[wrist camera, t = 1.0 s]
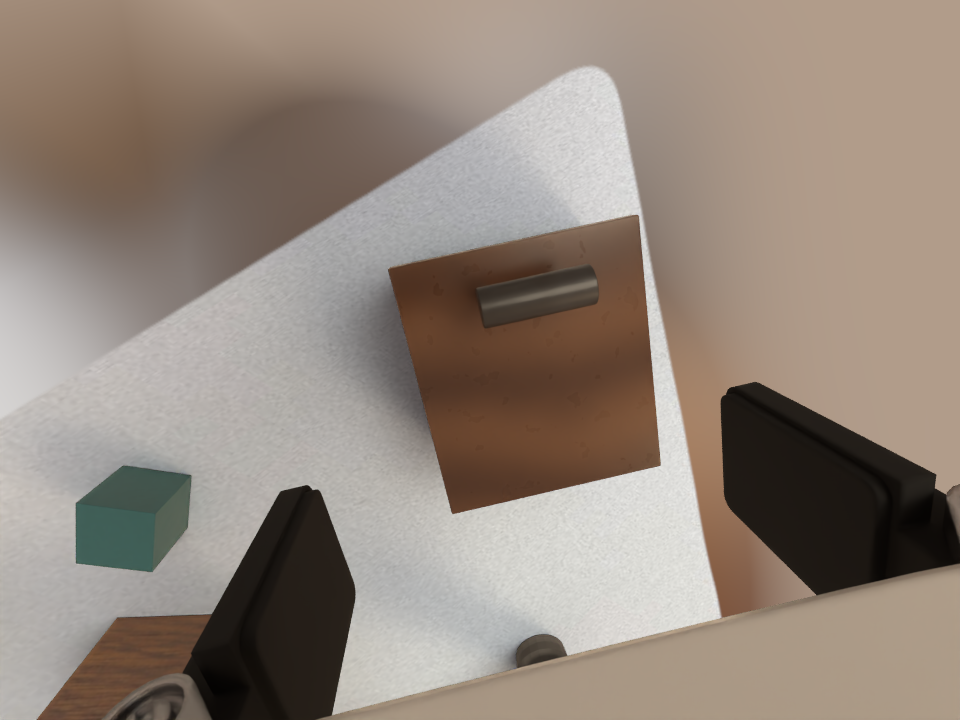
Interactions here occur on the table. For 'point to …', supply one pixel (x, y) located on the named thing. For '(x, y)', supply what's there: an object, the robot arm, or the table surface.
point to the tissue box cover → (126, 664)
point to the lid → (533, 361)
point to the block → (132, 519)
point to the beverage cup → (539, 650)
